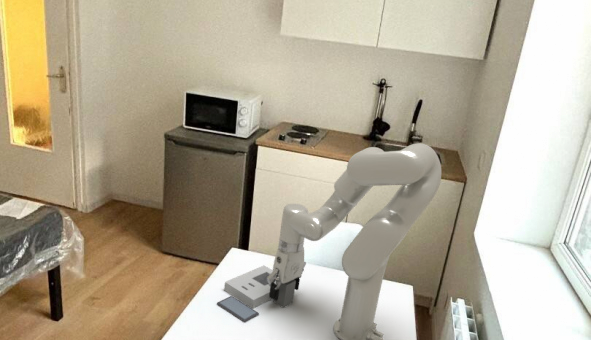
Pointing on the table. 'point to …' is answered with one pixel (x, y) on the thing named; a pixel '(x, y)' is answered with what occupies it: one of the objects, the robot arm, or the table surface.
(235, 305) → the phone
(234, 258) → the table surface
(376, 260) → the robot arm
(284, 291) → the block
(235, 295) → the outlet plate
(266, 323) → the table surface
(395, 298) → the table surface
